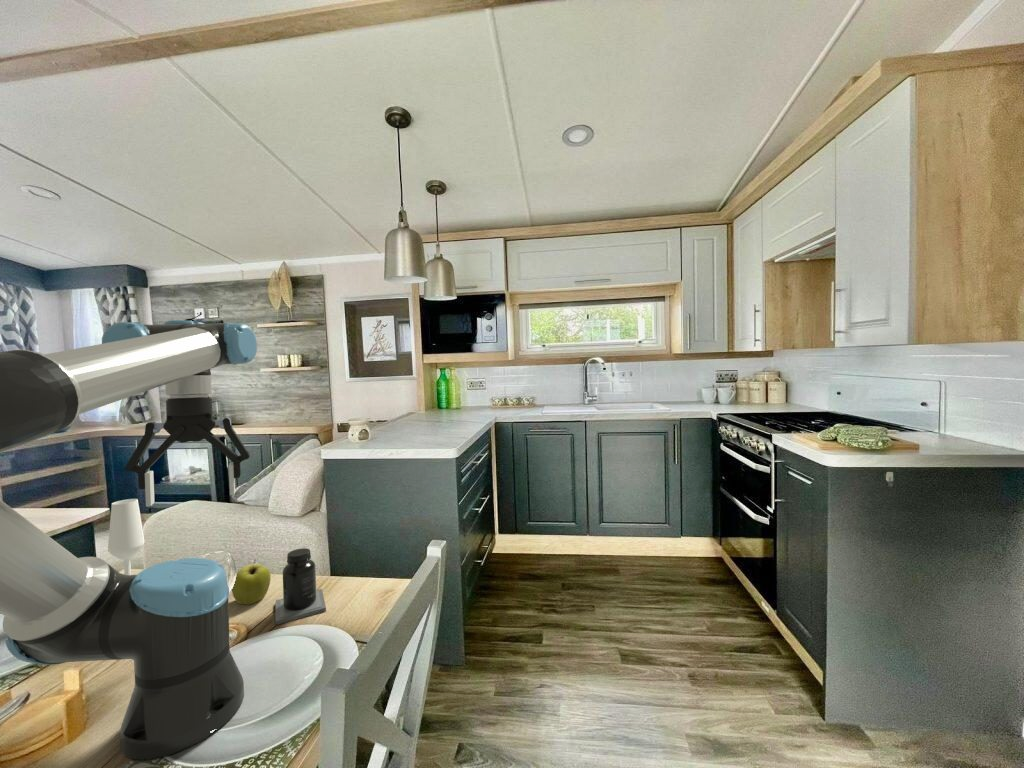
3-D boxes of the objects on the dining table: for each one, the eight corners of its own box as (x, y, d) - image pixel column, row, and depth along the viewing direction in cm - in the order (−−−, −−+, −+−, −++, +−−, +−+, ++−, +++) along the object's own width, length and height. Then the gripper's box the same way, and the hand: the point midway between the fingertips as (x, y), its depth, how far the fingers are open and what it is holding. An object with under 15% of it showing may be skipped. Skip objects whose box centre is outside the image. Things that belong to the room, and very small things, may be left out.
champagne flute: (117, 594, 104) (113, 500, 104) (150, 588, 107) (147, 496, 107) (104, 607, 98) (100, 507, 98) (140, 600, 101) (136, 503, 101)
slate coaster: (326, 610, 94) (325, 607, 94) (275, 624, 89) (275, 620, 89) (321, 591, 102) (321, 588, 102) (275, 603, 97) (275, 599, 97)
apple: (233, 591, 102) (245, 551, 102) (268, 596, 104) (280, 557, 104) (219, 608, 94) (233, 565, 95) (257, 613, 96) (270, 570, 97)
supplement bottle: (276, 609, 93) (274, 556, 93) (300, 594, 100) (298, 544, 100) (300, 613, 91) (298, 559, 91) (323, 597, 98) (321, 547, 98)
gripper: (260, 393, 94) (263, 486, 95) (114, 399, 82) (118, 504, 82) (259, 394, 88) (262, 493, 88) (100, 400, 75) (104, 515, 76)
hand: (193, 499), depth 85 cm, fingers open, 13 cm apart
